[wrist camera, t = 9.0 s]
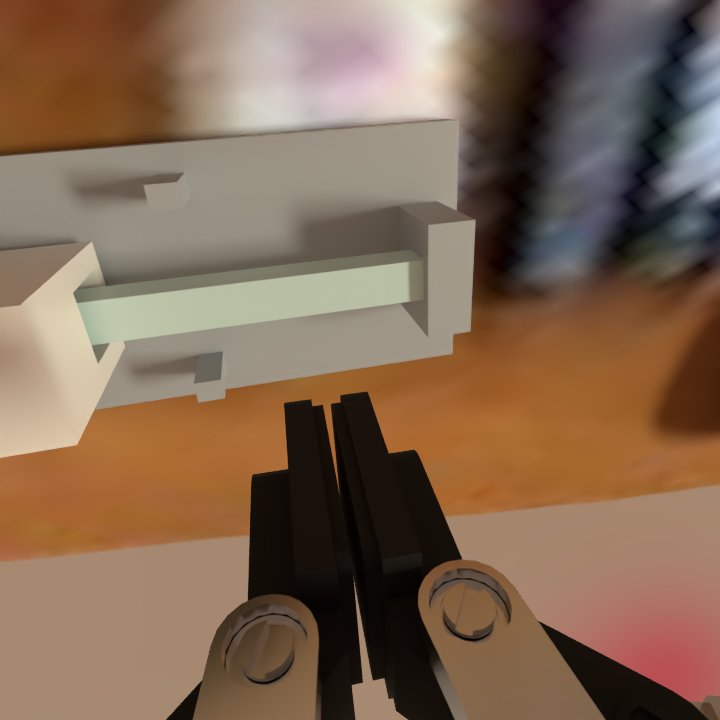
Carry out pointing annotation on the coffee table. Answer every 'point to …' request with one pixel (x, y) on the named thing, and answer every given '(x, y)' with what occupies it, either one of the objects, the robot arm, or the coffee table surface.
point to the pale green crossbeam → (249, 296)
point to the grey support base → (258, 241)
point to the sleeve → (48, 348)
